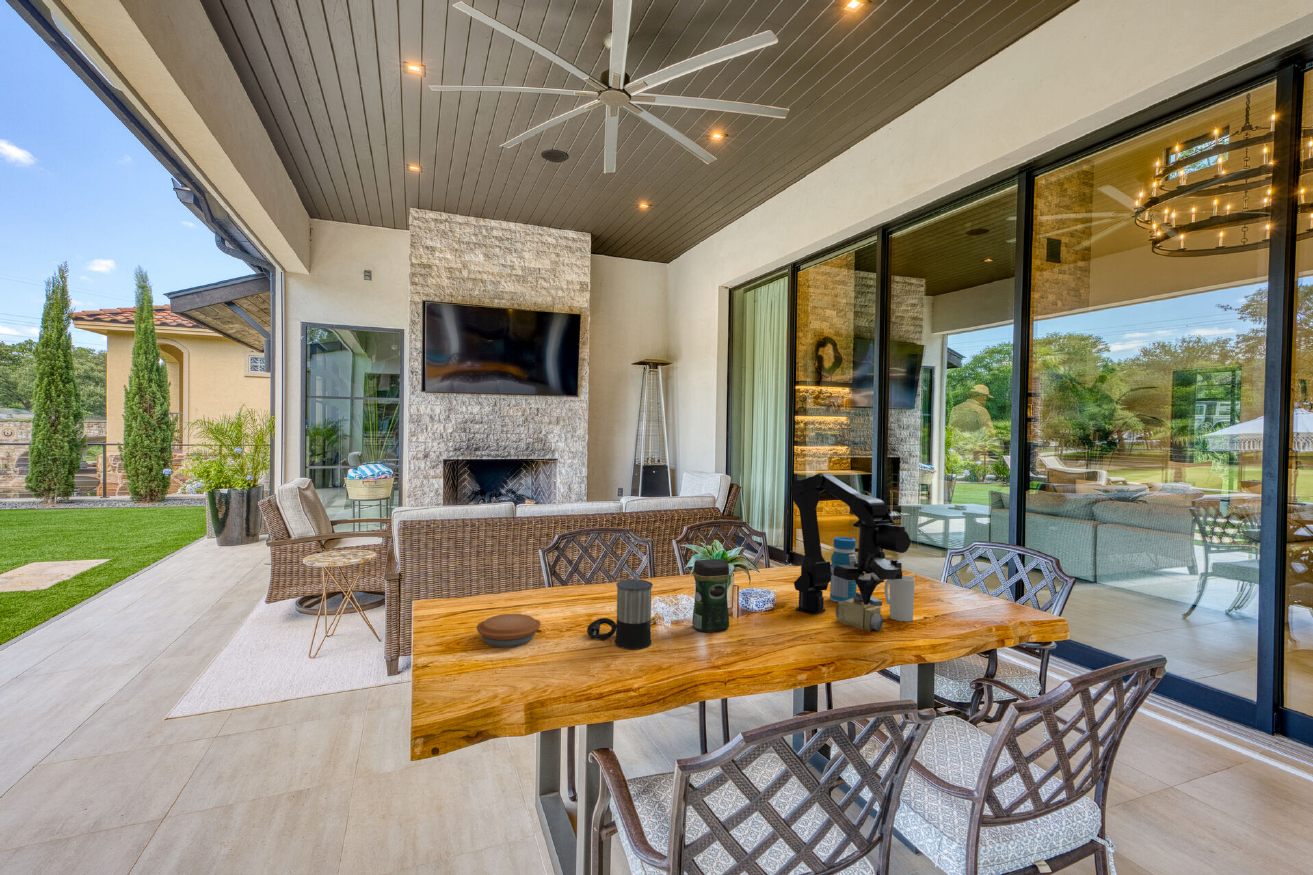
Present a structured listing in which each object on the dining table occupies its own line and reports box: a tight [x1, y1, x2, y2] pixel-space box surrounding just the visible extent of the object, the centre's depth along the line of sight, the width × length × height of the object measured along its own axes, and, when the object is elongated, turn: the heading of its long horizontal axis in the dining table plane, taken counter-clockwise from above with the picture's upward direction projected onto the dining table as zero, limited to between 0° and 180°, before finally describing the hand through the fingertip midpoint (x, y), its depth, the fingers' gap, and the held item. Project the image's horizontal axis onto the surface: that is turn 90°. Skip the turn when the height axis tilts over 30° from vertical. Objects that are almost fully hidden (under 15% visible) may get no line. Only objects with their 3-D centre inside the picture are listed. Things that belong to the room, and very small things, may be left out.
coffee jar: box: [691, 558, 730, 633], centre depth 155 cm, size 10×8×19 cm
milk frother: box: [586, 578, 653, 650], centre depth 144 cm, size 14×16×15 cm
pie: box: [476, 613, 542, 648], centre depth 143 cm, size 16×16×5 cm
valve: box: [835, 598, 884, 632], centre depth 161 cm, size 12×6×6 cm, turn 40°
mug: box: [884, 574, 916, 623], centre depth 169 cm, size 10×7×12 cm, turn 21°
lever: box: [853, 592, 883, 607], centre depth 157 cm, size 3×11×2 cm, turn 10°
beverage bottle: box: [829, 536, 858, 604], centre depth 185 cm, size 8×8×20 cm
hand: (866, 604), depth 154 cm, fingers closed
